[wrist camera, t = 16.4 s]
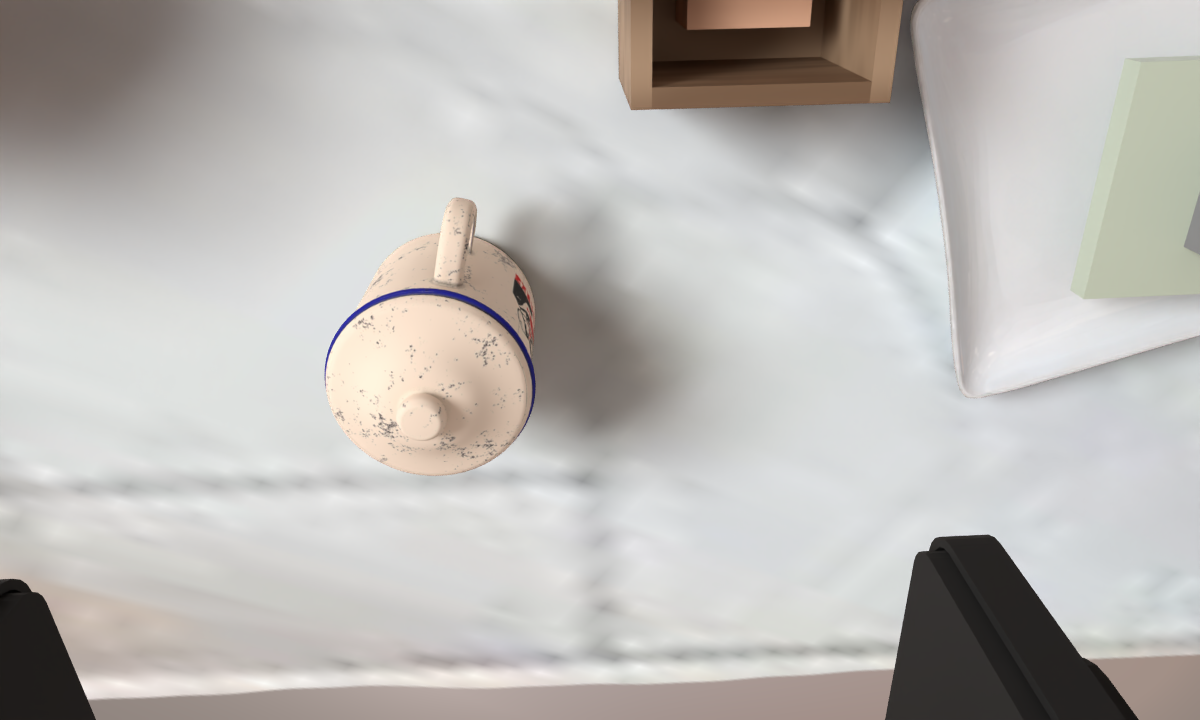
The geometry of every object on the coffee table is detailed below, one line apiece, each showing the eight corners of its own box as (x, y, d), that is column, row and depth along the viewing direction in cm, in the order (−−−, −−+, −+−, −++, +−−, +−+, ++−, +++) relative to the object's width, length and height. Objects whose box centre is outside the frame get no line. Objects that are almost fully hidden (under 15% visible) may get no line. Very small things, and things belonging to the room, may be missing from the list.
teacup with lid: (524, 397, 47) (513, 529, 37) (358, 369, 46) (298, 498, 35) (565, 189, 42) (566, 273, 31) (379, 152, 41) (315, 227, 30)
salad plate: (1327, 267, 46) (1381, 290, 43) (939, 379, 48) (964, 409, 45) (1361, -169, 37) (1434, -179, 34) (878, -4, 39) (905, 1, 36)
